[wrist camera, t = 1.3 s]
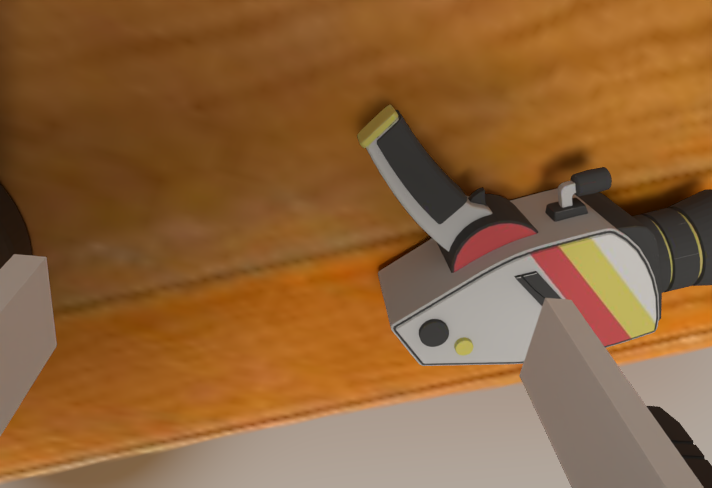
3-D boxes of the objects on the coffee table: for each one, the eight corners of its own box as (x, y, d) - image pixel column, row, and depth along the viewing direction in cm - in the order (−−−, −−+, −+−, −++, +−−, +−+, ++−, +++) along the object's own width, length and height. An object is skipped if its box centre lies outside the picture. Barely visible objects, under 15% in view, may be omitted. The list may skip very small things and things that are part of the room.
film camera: (686, 19, 32) (683, 260, 38) (337, 107, 32) (391, 330, 39) (780, 32, 26) (758, 318, 32) (345, 140, 26) (408, 400, 32)
